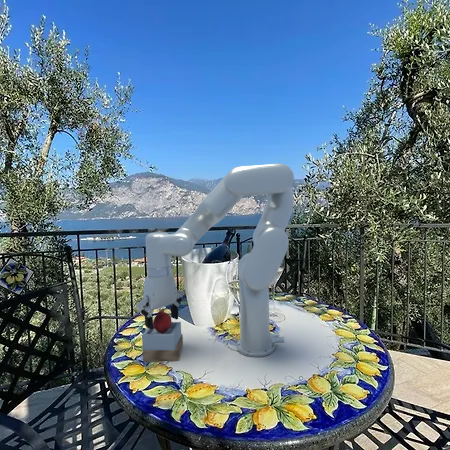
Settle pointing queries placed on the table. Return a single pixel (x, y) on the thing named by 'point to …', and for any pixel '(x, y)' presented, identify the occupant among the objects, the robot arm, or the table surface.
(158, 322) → the onion
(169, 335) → the grey top block
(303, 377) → the table surface
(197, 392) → the table surface
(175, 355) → the walnut base block
